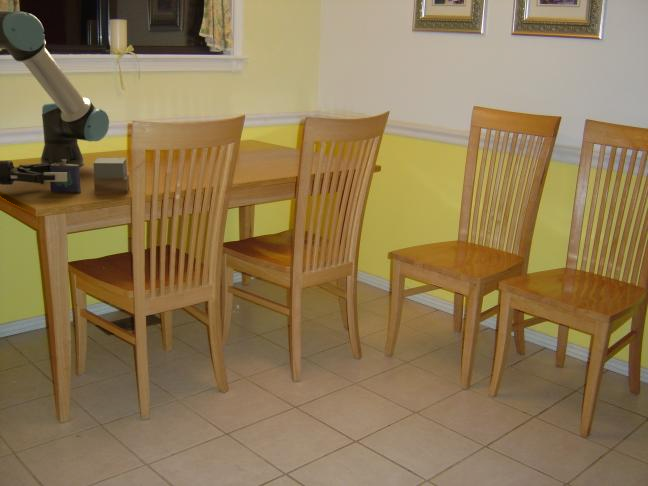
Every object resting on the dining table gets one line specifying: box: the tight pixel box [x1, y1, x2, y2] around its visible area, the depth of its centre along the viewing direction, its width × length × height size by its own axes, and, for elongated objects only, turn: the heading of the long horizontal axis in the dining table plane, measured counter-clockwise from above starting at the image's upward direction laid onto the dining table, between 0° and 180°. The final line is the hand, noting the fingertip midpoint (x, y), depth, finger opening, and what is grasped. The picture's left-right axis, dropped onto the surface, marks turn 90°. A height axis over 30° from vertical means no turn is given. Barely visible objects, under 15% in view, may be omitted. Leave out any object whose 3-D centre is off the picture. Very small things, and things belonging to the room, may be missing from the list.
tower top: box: [92, 157, 128, 180], centre depth 244 cm, size 9×9×5 cm
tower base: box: [93, 172, 130, 195], centre depth 245 cm, size 10×10×5 cm
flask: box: [49, 159, 82, 194], centre depth 239 cm, size 9×3×11 cm, turn 95°
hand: (70, 172), depth 239 cm, fingers open, 13 cm apart
